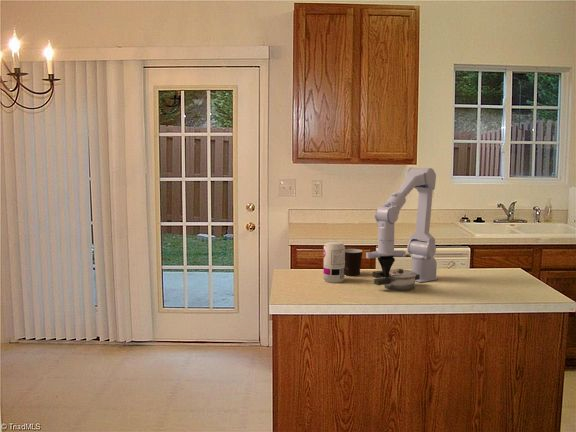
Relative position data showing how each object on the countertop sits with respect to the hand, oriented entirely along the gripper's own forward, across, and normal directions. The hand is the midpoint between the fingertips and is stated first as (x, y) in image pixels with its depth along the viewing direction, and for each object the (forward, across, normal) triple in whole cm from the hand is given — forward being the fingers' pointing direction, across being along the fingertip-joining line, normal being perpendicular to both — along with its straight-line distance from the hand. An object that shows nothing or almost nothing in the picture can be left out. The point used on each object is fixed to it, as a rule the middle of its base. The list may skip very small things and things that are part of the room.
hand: (385, 276), depth 192 cm
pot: (+5, -6, -3) cm, 9 cm away
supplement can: (+5, +13, -19) cm, 24 cm away
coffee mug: (+5, +2, -28) cm, 29 cm away
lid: (0, -5, -3) cm, 6 cm away
